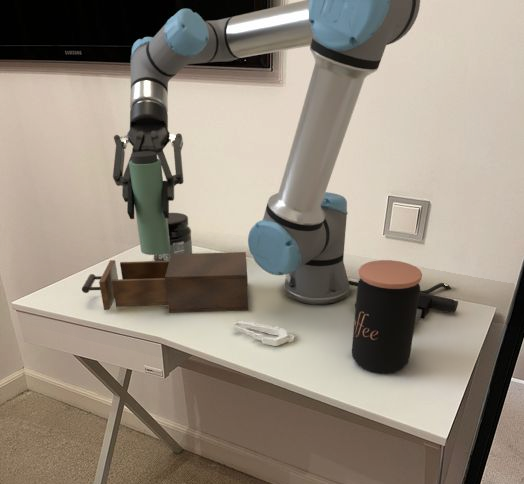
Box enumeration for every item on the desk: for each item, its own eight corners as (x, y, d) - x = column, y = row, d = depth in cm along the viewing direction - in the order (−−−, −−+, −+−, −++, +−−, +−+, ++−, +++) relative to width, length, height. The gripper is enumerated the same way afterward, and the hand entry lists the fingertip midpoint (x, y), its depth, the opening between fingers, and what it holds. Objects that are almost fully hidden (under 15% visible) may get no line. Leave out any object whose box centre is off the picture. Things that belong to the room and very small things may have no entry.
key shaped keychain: (227, 337, 109) (226, 330, 108) (236, 326, 113) (236, 319, 112) (287, 349, 105) (287, 341, 104) (295, 337, 109) (295, 329, 108)
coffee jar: (345, 347, 106) (352, 261, 96) (398, 344, 106) (410, 258, 97) (358, 377, 97) (367, 285, 87) (416, 374, 97) (431, 282, 88)
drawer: (82, 310, 118) (76, 282, 115) (94, 287, 129) (89, 260, 126) (179, 307, 119) (176, 279, 116) (183, 284, 130) (180, 258, 126)
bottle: (175, 246, 113) (165, 151, 103) (162, 256, 108) (150, 157, 98) (149, 243, 114) (137, 150, 105) (135, 253, 110) (121, 156, 100)
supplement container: (167, 252, 151) (163, 210, 145) (200, 257, 148) (197, 214, 141) (146, 265, 143) (140, 221, 137) (180, 271, 139) (176, 226, 133)
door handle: (439, 330, 106) (460, 295, 117) (345, 308, 115) (373, 277, 126) (437, 344, 108) (458, 309, 119) (345, 321, 117) (372, 290, 128)
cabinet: (168, 313, 119) (164, 277, 115) (174, 287, 131) (170, 254, 126) (248, 310, 120) (247, 274, 115) (246, 285, 131) (245, 251, 127)
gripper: (197, 122, 113) (199, 222, 108) (106, 125, 113) (103, 225, 107) (194, 97, 106) (195, 203, 100) (96, 100, 105) (93, 206, 100)
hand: (148, 214), depth 104 cm, fingers closed on bottle, 6 cm apart
